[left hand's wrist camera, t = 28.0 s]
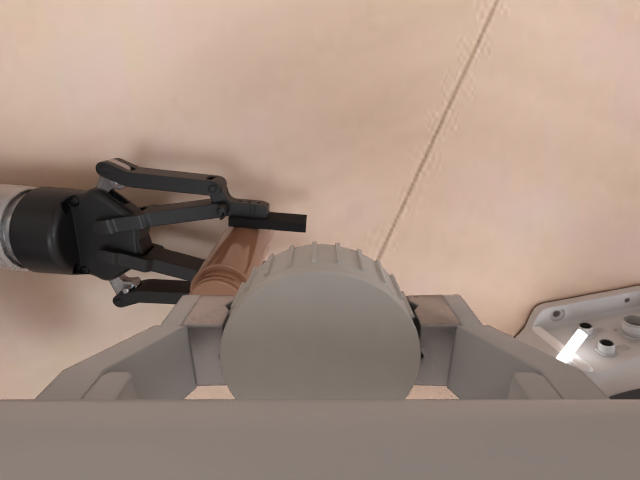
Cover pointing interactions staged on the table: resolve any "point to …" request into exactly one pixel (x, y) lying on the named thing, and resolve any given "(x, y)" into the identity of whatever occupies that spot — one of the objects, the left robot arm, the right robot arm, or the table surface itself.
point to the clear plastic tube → (231, 261)
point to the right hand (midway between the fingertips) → (303, 249)
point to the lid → (320, 329)
